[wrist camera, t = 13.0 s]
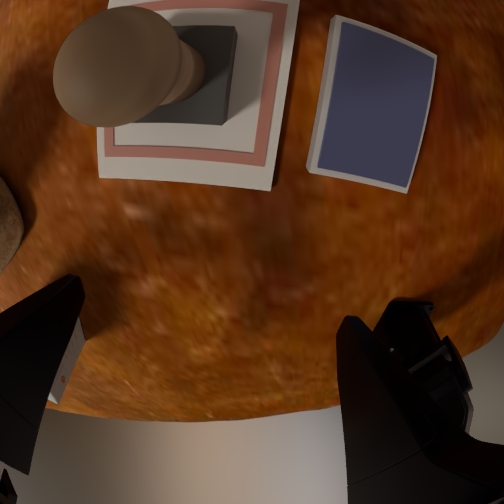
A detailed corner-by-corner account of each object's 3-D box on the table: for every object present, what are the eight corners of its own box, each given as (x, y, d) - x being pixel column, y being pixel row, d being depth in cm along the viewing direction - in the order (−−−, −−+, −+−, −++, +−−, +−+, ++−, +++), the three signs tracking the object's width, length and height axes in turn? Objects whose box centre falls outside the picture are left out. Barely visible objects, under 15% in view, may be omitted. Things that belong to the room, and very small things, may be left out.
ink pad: (426, 56, 12) (439, 55, 11) (398, 186, 18) (408, 195, 17) (330, 19, 12) (337, 13, 11) (305, 166, 18) (310, 174, 17)
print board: (300, -11, 11) (301, -14, 10) (270, 188, 19) (270, 191, 19) (114, -7, 10) (110, -9, 10) (102, 175, 18) (98, 178, 18)
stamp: (237, 35, 13) (205, -47, 3) (226, 121, 16) (177, 170, 6) (146, 36, 12) (24, 4, 3) (139, 118, 16) (16, 170, 6)
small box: (42, 288, 25) (-1, 352, 17) (77, 302, 26) (37, 374, 18) (54, 328, 30) (23, 386, 21) (86, 342, 31) (58, 405, 22)
